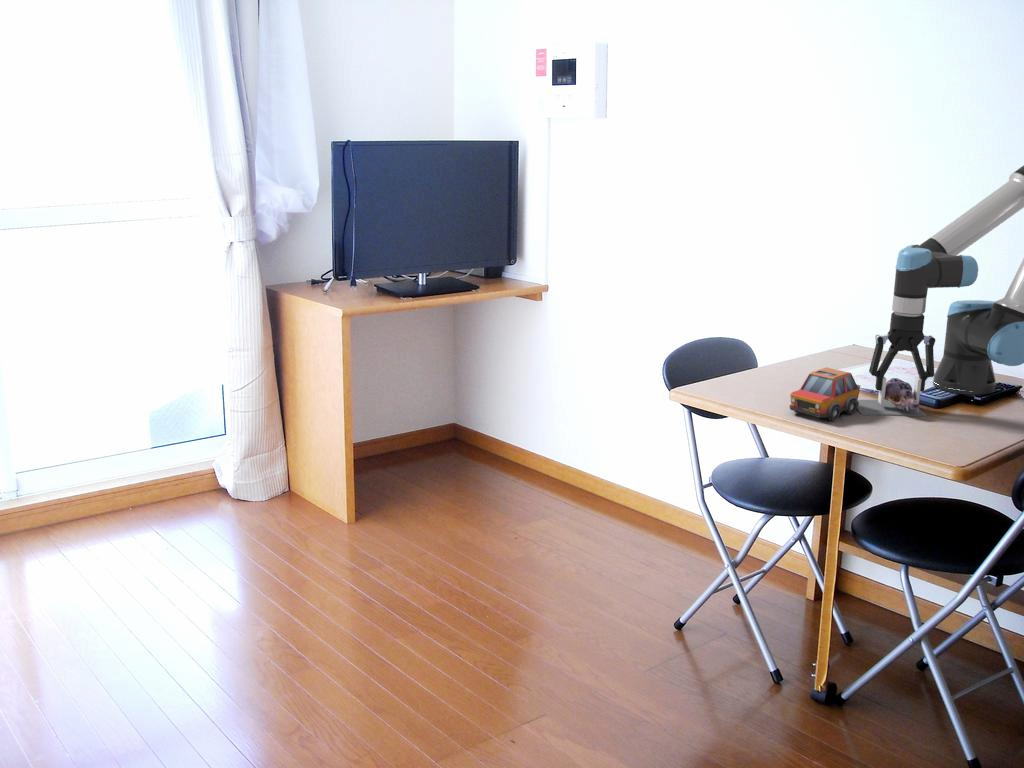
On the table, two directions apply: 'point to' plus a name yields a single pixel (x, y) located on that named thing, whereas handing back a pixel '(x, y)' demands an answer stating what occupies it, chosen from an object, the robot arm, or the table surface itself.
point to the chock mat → (885, 409)
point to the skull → (900, 394)
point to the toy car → (826, 394)
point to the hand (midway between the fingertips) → (898, 403)
